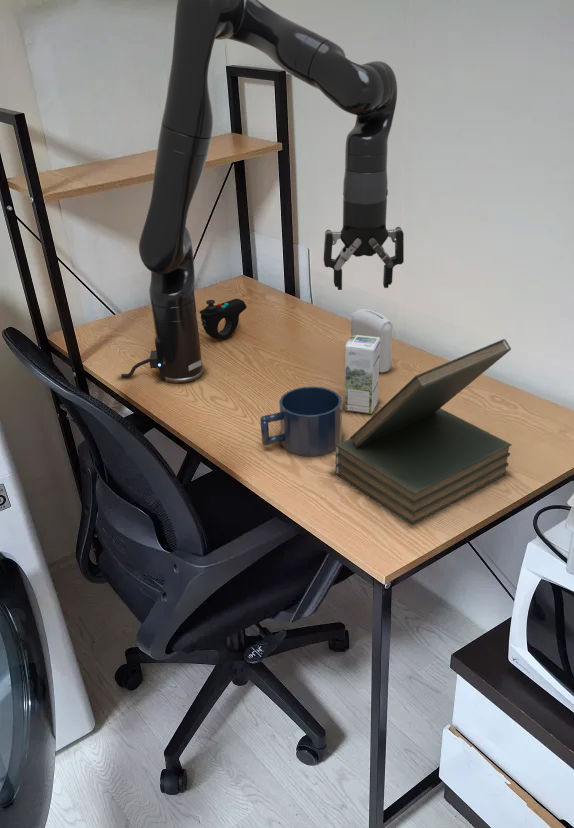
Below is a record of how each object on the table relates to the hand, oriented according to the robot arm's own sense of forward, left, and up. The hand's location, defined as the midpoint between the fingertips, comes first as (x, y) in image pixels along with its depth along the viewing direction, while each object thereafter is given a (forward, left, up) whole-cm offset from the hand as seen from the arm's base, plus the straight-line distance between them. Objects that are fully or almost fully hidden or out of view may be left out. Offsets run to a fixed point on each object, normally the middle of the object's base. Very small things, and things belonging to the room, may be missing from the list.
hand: (362, 287), depth 144 cm
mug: (-13, -13, -25) cm, 31 cm away
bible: (+8, -26, -25) cm, 37 cm away
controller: (-29, +38, -25) cm, 54 cm away
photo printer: (+4, +19, -25) cm, 32 cm away
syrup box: (0, 0, -25) cm, 25 cm away
